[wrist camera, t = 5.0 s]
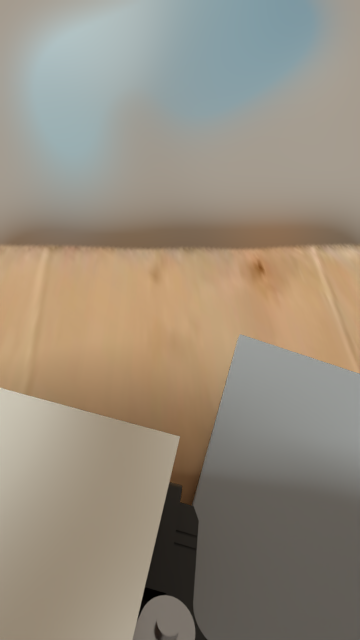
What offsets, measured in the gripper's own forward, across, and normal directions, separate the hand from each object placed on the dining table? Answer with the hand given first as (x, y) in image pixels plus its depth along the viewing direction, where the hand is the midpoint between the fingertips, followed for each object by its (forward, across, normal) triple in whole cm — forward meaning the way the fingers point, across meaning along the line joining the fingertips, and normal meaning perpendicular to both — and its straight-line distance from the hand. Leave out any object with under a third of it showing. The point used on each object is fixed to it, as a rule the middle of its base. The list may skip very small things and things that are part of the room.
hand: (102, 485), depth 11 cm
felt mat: (+5, -10, +2) cm, 12 cm away
